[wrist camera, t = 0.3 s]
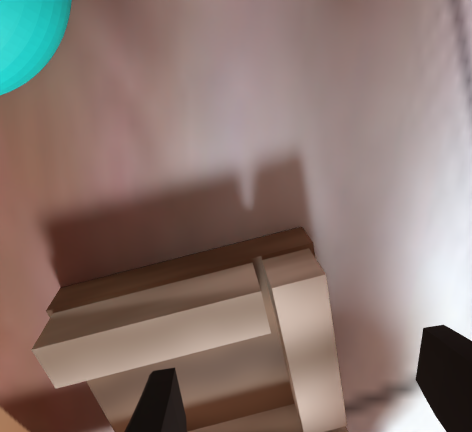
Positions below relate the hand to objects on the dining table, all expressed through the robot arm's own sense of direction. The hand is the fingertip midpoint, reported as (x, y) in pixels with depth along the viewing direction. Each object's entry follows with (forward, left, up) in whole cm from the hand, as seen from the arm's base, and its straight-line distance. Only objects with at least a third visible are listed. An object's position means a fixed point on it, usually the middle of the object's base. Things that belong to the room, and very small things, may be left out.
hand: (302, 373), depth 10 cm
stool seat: (-8, +4, -10) cm, 13 cm away
